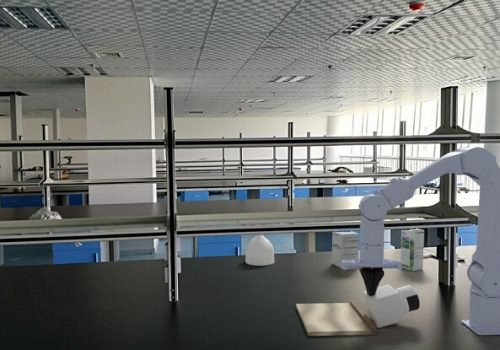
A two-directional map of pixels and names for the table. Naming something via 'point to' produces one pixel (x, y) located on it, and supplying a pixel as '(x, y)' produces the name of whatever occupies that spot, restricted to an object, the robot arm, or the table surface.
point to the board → (335, 319)
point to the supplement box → (344, 247)
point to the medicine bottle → (391, 304)
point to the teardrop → (259, 252)
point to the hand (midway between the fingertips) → (370, 297)
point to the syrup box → (412, 249)
